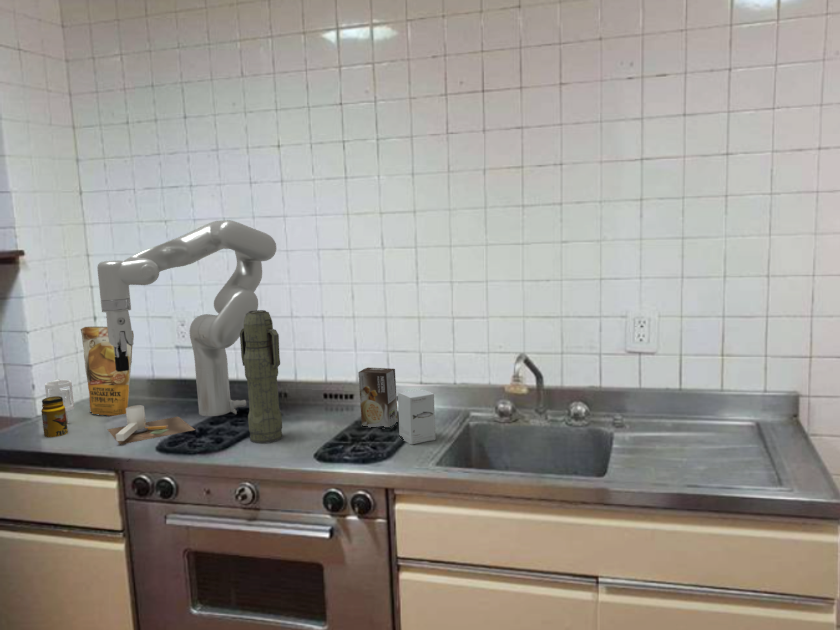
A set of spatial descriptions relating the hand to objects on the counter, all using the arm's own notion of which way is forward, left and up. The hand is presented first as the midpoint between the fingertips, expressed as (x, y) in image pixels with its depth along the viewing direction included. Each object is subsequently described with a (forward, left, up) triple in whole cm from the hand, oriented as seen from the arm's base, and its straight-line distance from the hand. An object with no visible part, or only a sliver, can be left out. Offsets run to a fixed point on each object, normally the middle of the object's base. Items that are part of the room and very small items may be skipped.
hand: (122, 370), depth 199 cm
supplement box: (-61, +56, -19) cm, 85 cm away
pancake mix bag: (-1, -31, -19) cm, 37 cm away
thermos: (-30, +28, -19) cm, 45 cm away
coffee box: (-60, +38, -19) cm, 74 cm away
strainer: (+14, -24, -19) cm, 34 cm away
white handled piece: (-2, +7, -17) cm, 19 cm away
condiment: (+18, -12, -19) cm, 29 cm away
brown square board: (-5, +3, -19) cm, 20 cm away
